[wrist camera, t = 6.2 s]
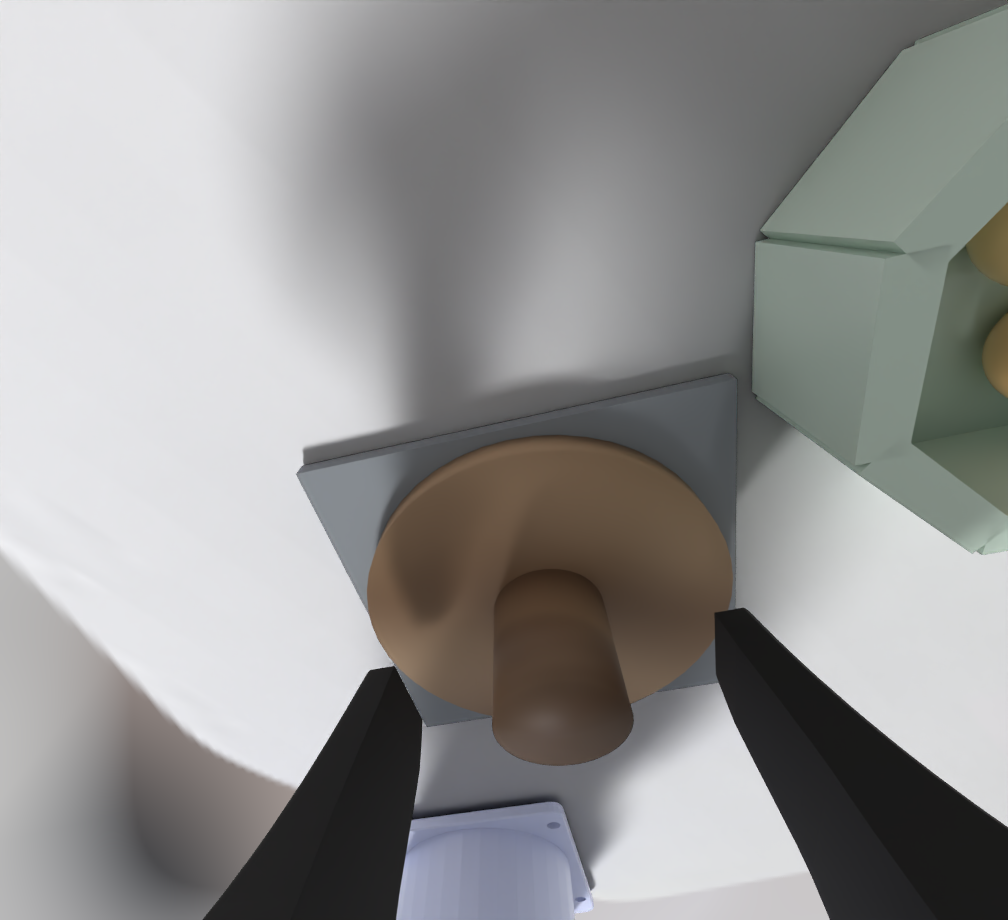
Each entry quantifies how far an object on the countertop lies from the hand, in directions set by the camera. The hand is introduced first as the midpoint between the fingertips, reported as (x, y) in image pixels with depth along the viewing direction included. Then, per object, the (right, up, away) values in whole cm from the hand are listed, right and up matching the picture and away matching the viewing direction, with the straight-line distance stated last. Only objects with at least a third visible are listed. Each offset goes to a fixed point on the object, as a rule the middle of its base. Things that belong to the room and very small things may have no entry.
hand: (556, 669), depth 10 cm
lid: (0, +1, +2) cm, 2 cm away
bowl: (+8, +8, -1) cm, 12 cm away
